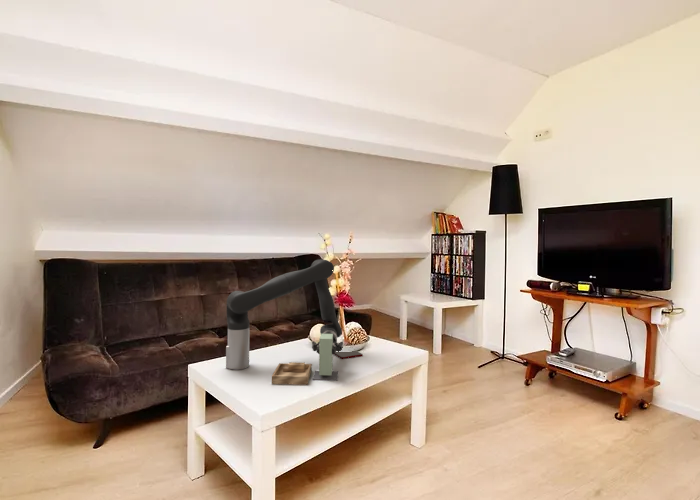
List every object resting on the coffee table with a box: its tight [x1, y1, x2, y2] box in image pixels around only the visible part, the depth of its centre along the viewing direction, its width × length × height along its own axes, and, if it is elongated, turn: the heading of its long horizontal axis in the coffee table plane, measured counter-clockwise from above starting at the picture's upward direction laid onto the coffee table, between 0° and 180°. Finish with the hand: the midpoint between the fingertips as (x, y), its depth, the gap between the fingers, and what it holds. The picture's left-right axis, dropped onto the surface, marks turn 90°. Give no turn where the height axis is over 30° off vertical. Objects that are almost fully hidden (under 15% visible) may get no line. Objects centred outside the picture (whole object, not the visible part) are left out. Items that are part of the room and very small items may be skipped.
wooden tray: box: [271, 362, 313, 386], centre depth 157 cm, size 14×15×3 cm
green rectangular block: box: [318, 333, 334, 375], centre depth 159 cm, size 5×8×15 cm, turn 179°
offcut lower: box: [283, 366, 306, 372], centre depth 161 cm, size 9×3×2 cm, turn 89°
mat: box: [312, 370, 339, 381], centre depth 159 cm, size 10×10×1 cm
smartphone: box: [333, 350, 364, 360], centre depth 195 cm, size 12×2×25 cm
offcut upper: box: [288, 361, 306, 369], centre depth 161 cm, size 6×3×2 cm, turn 89°
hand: (325, 351), depth 156 cm, fingers closed on green rectangular block, 5 cm apart
